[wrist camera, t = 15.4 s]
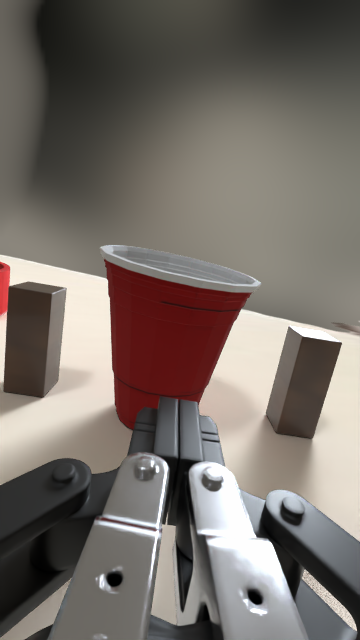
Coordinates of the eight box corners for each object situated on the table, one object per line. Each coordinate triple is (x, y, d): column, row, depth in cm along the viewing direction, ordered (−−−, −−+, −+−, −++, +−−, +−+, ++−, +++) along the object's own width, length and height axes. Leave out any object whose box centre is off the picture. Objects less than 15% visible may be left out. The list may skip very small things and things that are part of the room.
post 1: (58, 380, 26) (66, 287, 25) (43, 397, 23) (51, 293, 22) (22, 375, 26) (28, 281, 24) (3, 391, 23) (8, 286, 22)
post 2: (298, 418, 27) (323, 331, 26) (313, 438, 24) (342, 342, 23) (265, 413, 27) (288, 325, 25) (276, 433, 24) (302, 335, 22)
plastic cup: (118, 487, 16) (154, 257, 14) (62, 392, 25) (77, 237, 22) (256, 441, 23) (299, 278, 20) (174, 377, 31) (196, 256, 28)
